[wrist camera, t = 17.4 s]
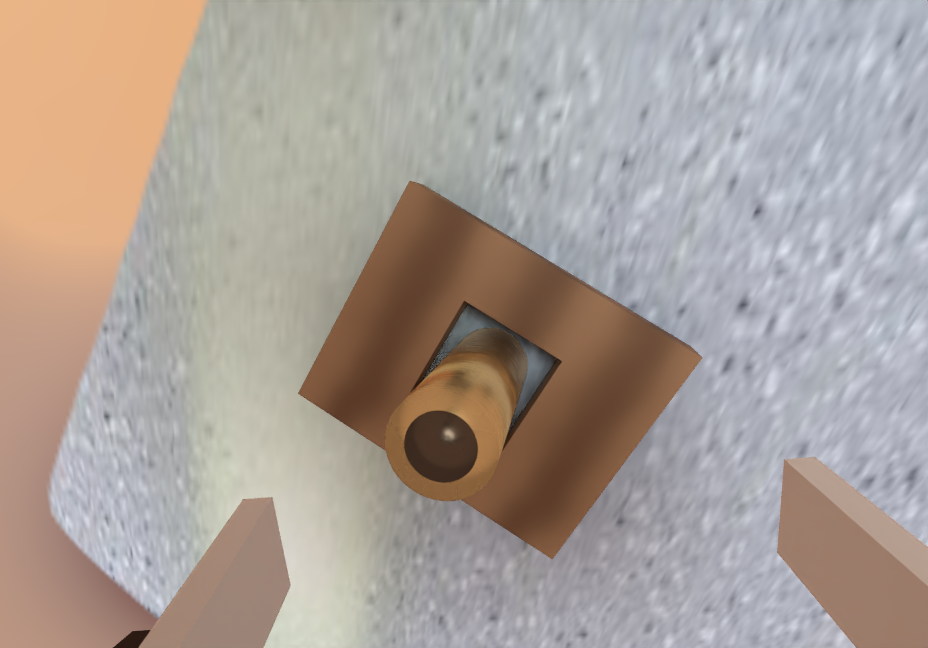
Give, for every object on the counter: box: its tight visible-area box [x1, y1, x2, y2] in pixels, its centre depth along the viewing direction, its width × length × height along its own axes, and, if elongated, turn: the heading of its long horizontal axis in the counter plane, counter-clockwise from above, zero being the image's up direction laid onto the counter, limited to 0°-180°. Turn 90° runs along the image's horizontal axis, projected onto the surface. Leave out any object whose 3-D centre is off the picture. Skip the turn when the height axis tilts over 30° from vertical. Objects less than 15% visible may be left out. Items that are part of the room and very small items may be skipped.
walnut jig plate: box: [298, 181, 702, 559], centre depth 35 cm, size 20×16×3 cm
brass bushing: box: [385, 328, 528, 501], centre depth 29 cm, size 5×5×14 cm
